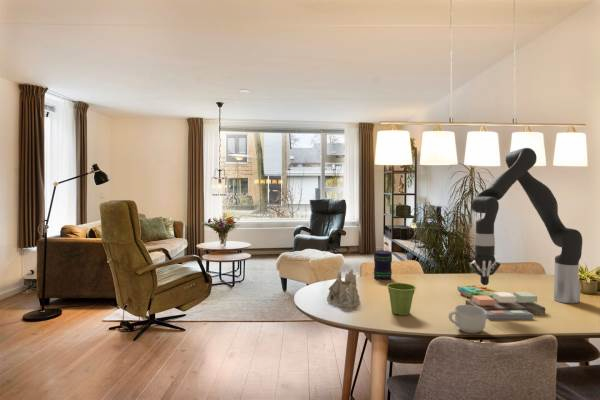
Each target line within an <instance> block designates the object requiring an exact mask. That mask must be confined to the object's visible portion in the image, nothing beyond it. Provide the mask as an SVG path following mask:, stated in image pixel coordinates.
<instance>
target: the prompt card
mask: <svg viewBox="0 0 600 400" xmlns="http://www.w3.org/2000/svg"><path fill="white" fill-rule="evenodd" d="M486 312H487V314H486V320H488V321H491V320H492V321H493V320H499V321H500V320H534V314H532V313H530V312H528V311H526V310H512V311H486Z"/></svg>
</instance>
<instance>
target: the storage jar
mask: <svg viewBox="0 0 600 400" xmlns="http://www.w3.org/2000/svg"><path fill="white" fill-rule="evenodd" d="M373 253H374V254H373V261H374V268H373V278H374V279H375V280H378V281H391V280H392V274H393V273H392V261H393V257H392V254H393V253H392V251H391V250H375V251H373Z"/></svg>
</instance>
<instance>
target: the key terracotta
mask: <svg viewBox="0 0 600 400" xmlns="http://www.w3.org/2000/svg"><path fill="white" fill-rule="evenodd" d="M471 300H472V301H473V302H475V303H476V304H478V305H479V306H487V305H495V300H494V299H493V298H491V297H489V296H487V295H485V296H472V299H471Z"/></svg>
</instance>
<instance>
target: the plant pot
mask: <svg viewBox="0 0 600 400" xmlns="http://www.w3.org/2000/svg"><path fill="white" fill-rule="evenodd" d="M386 287H387V289H388V294H389V302H390V308H391V313H392V314H394V315H399V316H407V315H409V314H410V313H411V308H412V303H413V298H414V297H413V296H414V294H415V291H416V290H417V287H416V286H415V285H414V284H411V283H410V284H409V283H405V282H391V283H388V284H386Z"/></svg>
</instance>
